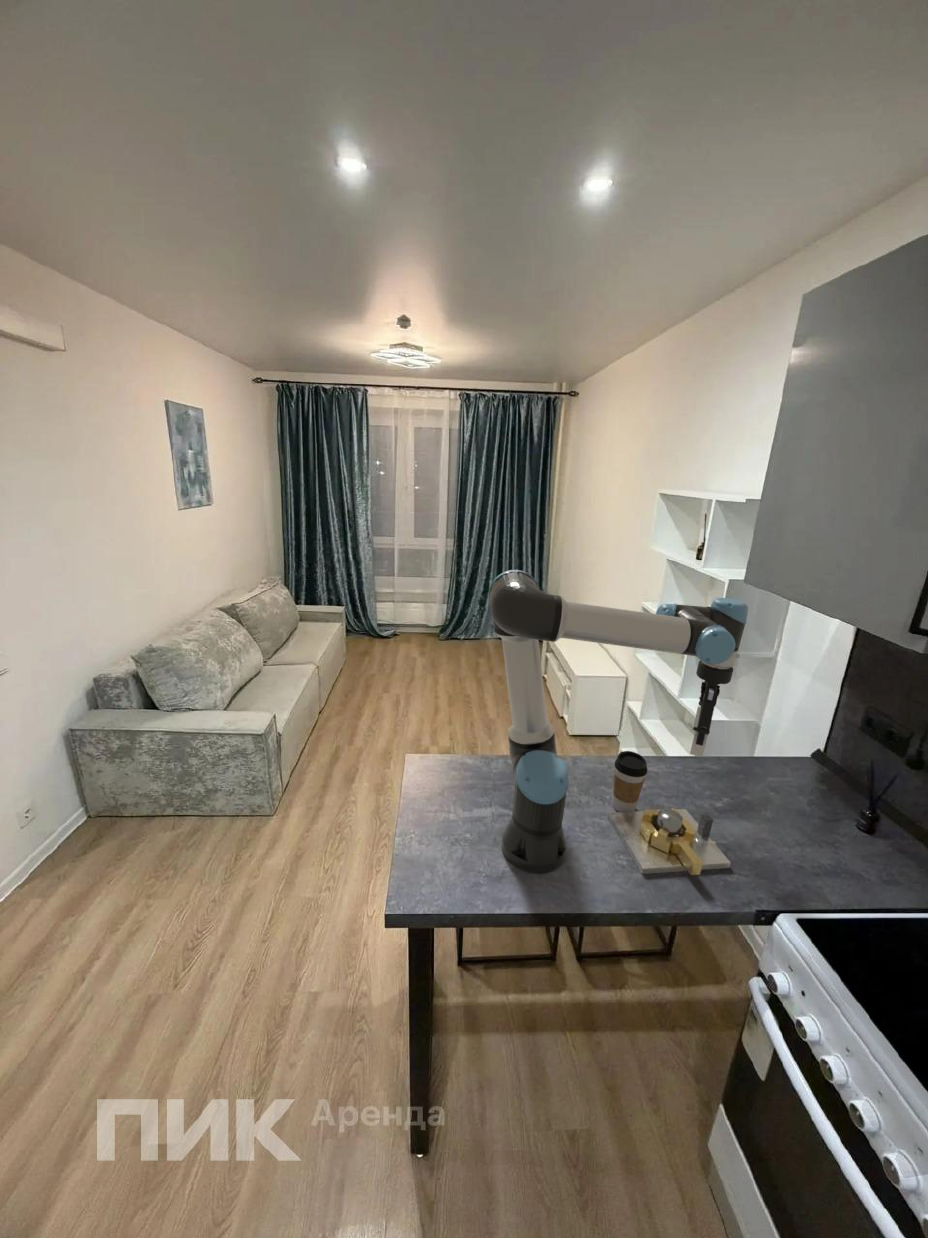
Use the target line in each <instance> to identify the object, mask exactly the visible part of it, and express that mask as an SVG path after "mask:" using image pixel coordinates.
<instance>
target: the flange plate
mask: <svg viewBox="0 0 928 1238" xmlns="http://www.w3.org/2000/svg"><path fill="white" fill-rule="evenodd" d="M675 809H676V810H679V811H680V814H679V813H678V812H676V811H674V810H671V808H661V810H659V812H658V817H657V822H656V825H653V827H654V828H655V829H656V831H657V832H659V830H660V828H661V829H663V830H665V831H667V832H669V834H668V837H671V838H673V837H682V835H681V834H680V830H681V826H682V822H683V819H687V820H688V822H689V823H690V824H691V825H692V826H693V828H694V829H695V830H696V836H695V840H694V843H693V846H692V848H691V849H692V850H693V851H694V852H695V854H696V855H697V856H698V858H699V859H700V860H701V861H702V863H703V864H702V868H701V871H703V870H704V871H707V870H720V869H721V870H722V869H730V868H731V864H732V862H731V861H730V860H729V859H728V858H727V856H726V855H725V854H724V852H722V851H721V849H720V848H719V847H718V846H717V843H716V841H714V840H713V839H711V838H710V835H711V830H712V826H713V822H714V819H713V818H712V817H711V816H710V815H709V814H701V815H700V817H699V821H698V822H697V820H695V818H694V817H693V816H692V815H691V814H690V813H689V812H688V810H687V809H686V808H682V809H681V808H680V809H679V808H678V809H677V808H675ZM644 812H645V810H641V811H639V810H638V811H636V810H635V811H634V812H619V811H617V812H616V811H615V812H608V814H607V818H608V820H609V822H610V823H611V825H612V827H613V829H614V831H615V832H616V834H617V835H618V837H619V839H620V840H621V842H622V843H623V845H624V846H625V848H626V850H627V852H628V853H629V855H630V857H631V858H632V860H633V861H634V863H635V865H636V867H637V868H638V870H639V871H640V873H641V874H642V875H646V874H647V875H648V874H659V873H660V874H661V873H662V874H663V873H678V872H688V870H687V869H686V868H685V866H684V865H683V864H682V862H681V861H680V859H679V858H678V857H677V855H676V854H671V853H670V851H669V853H666V852H664V851H662V850H660V849H658V848H655V847H653V846H651V843H647V841H646V840H645V838H644V837H643V835H642V834H641V832H640V824H641V819H642V817H643V814H644ZM682 816H683V818H682Z"/></svg>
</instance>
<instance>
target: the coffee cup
mask: <svg viewBox="0 0 928 1238" xmlns="http://www.w3.org/2000/svg"><path fill="white" fill-rule="evenodd" d="M647 765H648V764H647V760H646V759H645V757H643V756H642V755H641V754H640V753H637V752H636V751H630V750H622V751H621V752H619V753H618V754H617V758H616V759H615V761H614V767H615V770H614V775H613V793H612V807H613V808H614V810H616V811H617V812H635V811H636V807H637V803H638V800H639V797H640V795H641V791H642V788H643V785H644V782H645V776H646V775H647V774H648V767H647Z"/></svg>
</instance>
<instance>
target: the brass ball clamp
mask: <svg viewBox="0 0 928 1238" xmlns="http://www.w3.org/2000/svg"><path fill="white" fill-rule="evenodd" d="M661 809H662V808H661ZM661 809H647V808H645V810H644V811H645V812H644V814H643V817H642V819H641V824H640V832H641V834H642V835H643V837H644V838H645V840H646V841H647V843H651V846H653V847H655V848H658V849H660V850H662V851H664V852H666V853H669V851H670V853H671V854H676V855H677V857H678V858H679V859H680V861H681V862H682V864H683V865H684V866H685V868H686V869H687V870H688V871H687V872H688V873H689V875H690V876H697V875H701V872H702V870H701V868H702V864H703V863H702V861H701V860H700V859H699V858H698V856H697V855H696V854H695V852H694V851H693V850H692V849H691V848H692V846H693V843H694V840H695V836H696V830H695V829H694V828H693V826H692V825H691V824H690V823H689V822H688V820H687V819H683V822H682V826H681V830H680V834H681V835H682V837H673V838H671V837H668V834H669V832H667V831H665V830H663V829H661V828H660V830H659V832H657V831H656V829H655V828H654V827H653V825H656V822H657V817H658V812H659V810H661ZM670 809H671V810H674V811H676V812H678V813H679V814H680V811H679V810H676V809H677V808H673V807H671V808H670ZM682 818H683V816H682Z"/></svg>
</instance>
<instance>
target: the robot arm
mask: <svg viewBox="0 0 928 1238" xmlns="http://www.w3.org/2000/svg"><path fill="white" fill-rule="evenodd" d="M488 590H489V591H488V598H489V604H490V613H491V618H492V624H493V631H494V634H495V635H496V636H498V637H499V638H500V639H501V641H502V642H501V643H502V651H503V659H504V660H503V661H504V666H505V667H504V668H505V674H506V682H507V684H506V685H507V689H508V698H509V705H510V712H511V713H510V714H511V721H512V725H511V726H510V727H509V728H508V730H507V736H508V745H509V750H508V751H509V755H510V758H511V768H512V770H511V771H512V777H513V779H512V780H513V784H514V785H513V788H514V791H513V794H514V795H513V804H512V811H511V812H512V814H511V817H510V819H509V821H508V823H507V825H506V827H505V829H504V831H503V833H502V837H501V838H502V840H501V849H502V853H503V855H504V857H505V858H506V859H507V860H508V861H509V862H510V863H511V865H513V866H515V867H516V868H518V869H519V870H522V871H524V872H525V871H526V872H527V873H534V874H546V873H551V872H553V871H556V870H557V869H559V868H560V867H561V866H562V865H563V863H564V862H565V860H566V854H567V853H566V852H567V842H566V839H565V835H564V830H563V819H564V812H565V807H566V806H565V805H566V799H567V791H568V789H569V784H570V783H569V782H570V780H569V771H568V770H569V769H568V767H567V764H566V763H565V761H564V760H563V759H562V758H560V757H559V756H558V754H557V753H558V751H557V744H556V736H555V735H556V734H555V728H554V726H553V724H551V723H550V722H549V721H548V718H547V716H548V715H547V709H546V699H545V690H544V679H543V671H542V663H541V662H542V661H541V652H540V651H541V650H540V643H539V641H542V642H543V641H546V642H551V643H556V642H557V641H559V640H561V639H566V640H574V641H580V642H581V641H583V642H588V643H597V644H602V645H603V644H604V645H611V646H618V647H627V648H633V649H639V650H640V649H642V650H648V651H654V652H655V651H656V652H662V653H663V652H665V653H671V654H676V655H686V656H690V657H691V656H692V657H697V659H698V660H699V661H698V664H697V668H696V676H697V677H698V678H699V679H701V680H702V682H701V686H700V696H699V697H698V699H699V701H698V705H697V708H696V709H697V710H696V714H695V717H694V722H693V726H692V730H693V731H694V735H693V739H692V744H691V747H690V751H689V755H692V756H693V755H694V756H696V757H700V758H703V756H704V751H705V748H706V743H707V739H708V736H709V734H710V731H711V726H712V725H711V724H712V720H713V719H712V718H713V715H714V711H715V707H716V705H717V700H718V698H719V695H720V687H721V686H720V685H726V684H729V683H731V681H732V677H733V673H734V668H733V667H734V666H735V663H736V661H737V660H736V658H737V659H738V658H739V659H740V657H741V655H740V653H738V652H739V648H740V646H741V645H740V644H741V641H742V638H743V634H744V629H745V627H746V624H747V618H748V615H749V614H748V612H749V607H748V604H747V603H745V602H744V601H741V600H739V599H735V598H734V599H733V598H729V597H716V598H714V599H712V602H711V605H710V606H700V605H699V606H698V605H690V604H678V603H663V604H660V605H659V606H658V608H657V610H656V611H655V613H650V612H644V611H636V610H631V609H630V610H628V609H622V608H614V607H607V606H600V605H592V604H585V603H579V602H577V603H576V602H572V601H571V602H570V601H566V600H565V598H564V597H563V596H562V595H557V594H551V593H547V592H544V591H542V590H540V587H539V584H538V582H537V581H536V579H535V578H534V577H533V576H532V575H531V574H530V573H528V572H526V571H523V570H519V569H510V570H506V571H503V572H502V573H500V574H498V575H497V576H496V577H495V578H494V579H493V581H492V583H491V585H490V587H489V589H488Z"/></svg>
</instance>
